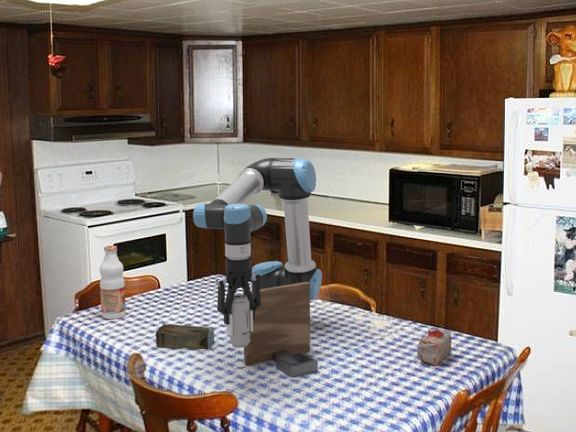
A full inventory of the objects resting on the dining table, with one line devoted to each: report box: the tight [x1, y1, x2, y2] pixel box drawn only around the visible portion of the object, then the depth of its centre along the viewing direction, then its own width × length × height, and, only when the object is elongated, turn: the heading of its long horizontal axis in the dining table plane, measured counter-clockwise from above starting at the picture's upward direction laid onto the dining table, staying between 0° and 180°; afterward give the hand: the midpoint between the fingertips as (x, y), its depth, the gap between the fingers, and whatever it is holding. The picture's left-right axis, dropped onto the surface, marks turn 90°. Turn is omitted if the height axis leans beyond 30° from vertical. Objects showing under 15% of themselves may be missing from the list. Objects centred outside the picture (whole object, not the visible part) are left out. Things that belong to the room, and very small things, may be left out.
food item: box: [416, 328, 452, 366], centre depth 229 cm, size 14×8×10 cm, turn 147°
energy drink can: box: [229, 293, 250, 349], centre depth 209 cm, size 6×6×15 cm
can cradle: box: [272, 350, 319, 378], centre depth 224 cm, size 16×10×4 cm, turn 31°
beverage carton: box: [155, 323, 215, 351], centre depth 244 cm, size 8×19×7 cm, turn 80°
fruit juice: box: [99, 245, 127, 320], centre depth 275 cm, size 9×9×28 cm
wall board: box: [242, 282, 311, 366], centre depth 230 cm, size 2×24×24 cm, turn 121°
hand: (239, 332), depth 209 cm, fingers closed on energy drink can, 6 cm apart
